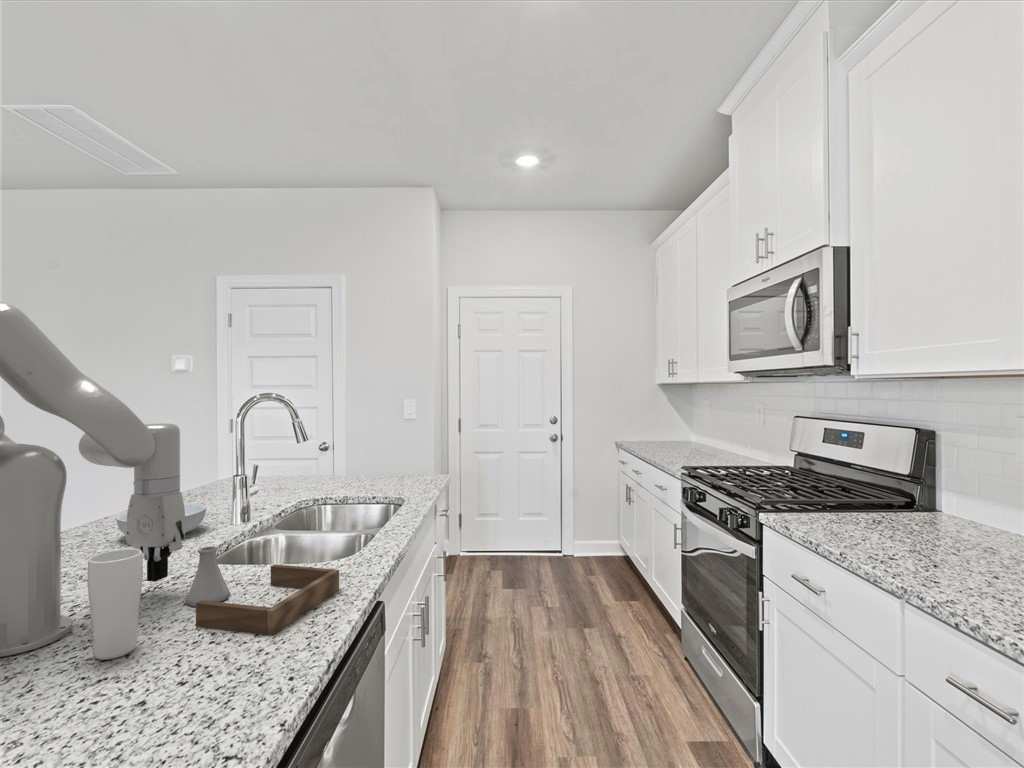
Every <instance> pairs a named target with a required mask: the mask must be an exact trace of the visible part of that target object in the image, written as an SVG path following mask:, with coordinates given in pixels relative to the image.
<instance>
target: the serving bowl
mask: <svg viewBox="0 0 1024 768" xmlns="http://www.w3.org/2000/svg"><path fill="white" fill-rule="evenodd" d="M184 509H185V520H186V532H185V534H186V533H188V532H191V531H192V530H194V529H196V528H197V527H199V525H201V523H202V522H203V520H204V519H205V516H206V511H207V506H206V504H202V503H194V502H184ZM127 513H128V510H127V511H123V512H121V513H119V514H118V515H116V517H115V520H116V523H117V527H118V530H120V532H121V533H122V534H124V535H125V536H126V523H127Z"/></svg>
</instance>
